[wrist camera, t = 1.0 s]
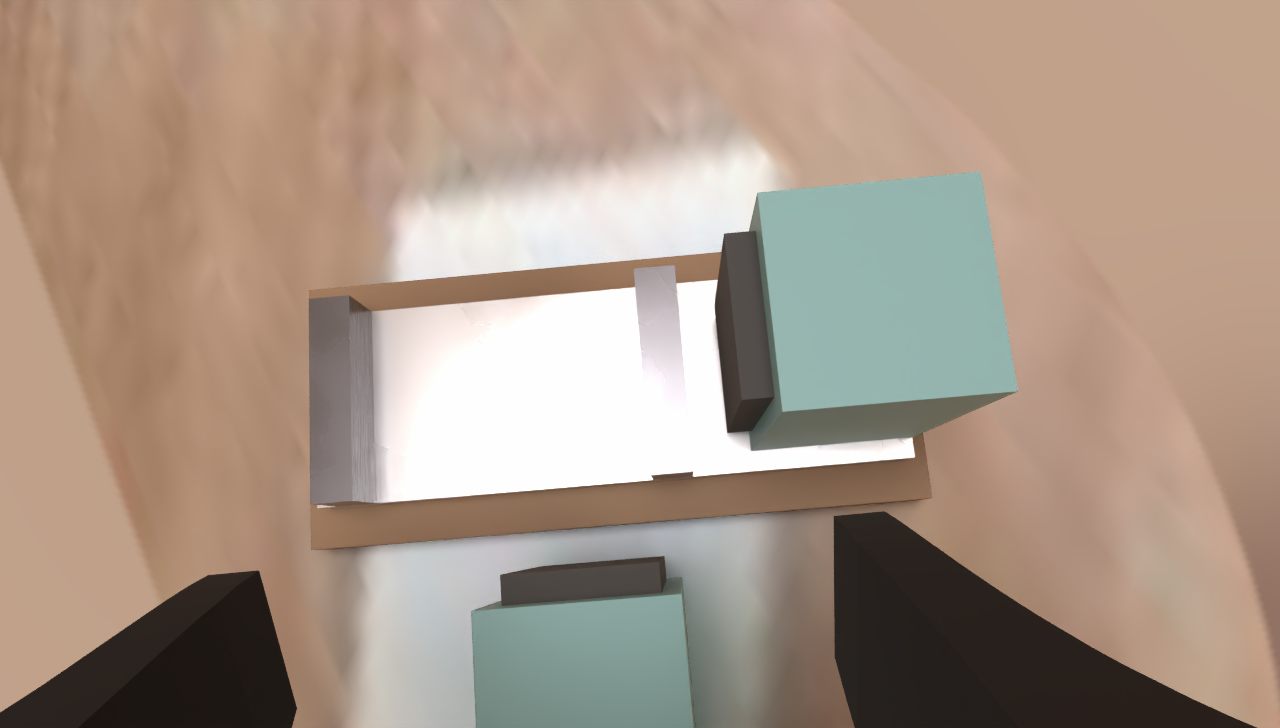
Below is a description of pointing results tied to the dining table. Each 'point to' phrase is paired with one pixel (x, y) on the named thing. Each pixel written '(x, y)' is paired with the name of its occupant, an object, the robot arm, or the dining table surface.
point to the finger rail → (662, 375)
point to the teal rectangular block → (584, 649)
